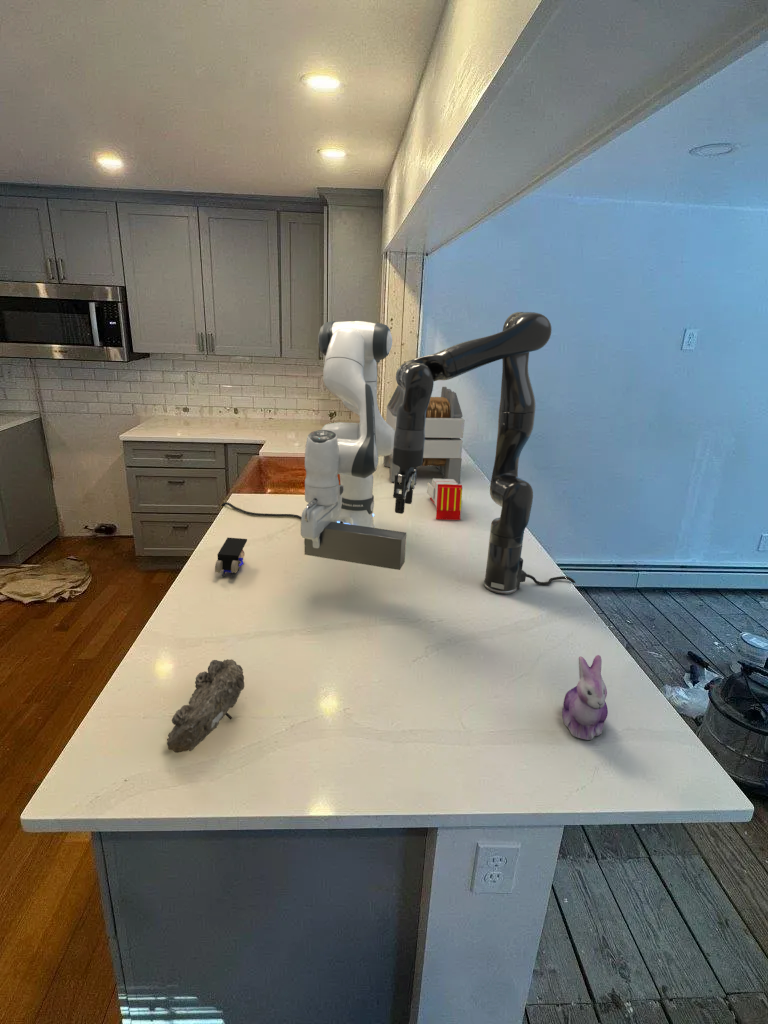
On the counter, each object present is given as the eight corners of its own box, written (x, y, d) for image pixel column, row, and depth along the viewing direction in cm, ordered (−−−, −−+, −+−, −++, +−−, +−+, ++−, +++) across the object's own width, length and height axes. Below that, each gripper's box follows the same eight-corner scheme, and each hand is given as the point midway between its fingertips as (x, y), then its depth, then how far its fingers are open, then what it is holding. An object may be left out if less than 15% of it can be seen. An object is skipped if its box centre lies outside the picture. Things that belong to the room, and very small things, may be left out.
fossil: (192, 660, 117) (244, 628, 112) (224, 691, 120) (276, 661, 115) (142, 746, 98) (202, 712, 93) (182, 779, 101) (242, 748, 96)
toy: (454, 474, 240) (466, 486, 210) (452, 505, 242) (464, 521, 213) (426, 473, 239) (434, 485, 210) (424, 504, 242) (432, 520, 212)
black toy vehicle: (238, 584, 162) (249, 557, 175) (236, 562, 158) (247, 536, 172) (215, 584, 161) (227, 556, 175) (212, 561, 158) (225, 535, 171)
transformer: (382, 463, 289) (386, 382, 275) (445, 464, 293) (451, 384, 279) (390, 482, 257) (394, 392, 243) (460, 483, 261) (468, 394, 247)
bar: (304, 554, 152) (304, 525, 149) (311, 547, 157) (311, 518, 154) (399, 570, 146) (401, 539, 143) (404, 562, 150) (406, 532, 147)
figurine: (586, 749, 104) (600, 681, 99) (547, 715, 112) (558, 650, 107) (622, 734, 108) (637, 668, 103) (582, 702, 117) (594, 639, 112)
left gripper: (317, 507, 138) (317, 559, 142) (346, 484, 156) (345, 531, 161) (294, 504, 139) (294, 555, 144) (324, 481, 158) (324, 527, 162)
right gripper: (417, 453, 132) (411, 519, 137) (429, 442, 145) (423, 502, 150) (386, 449, 134) (381, 514, 139) (401, 438, 147) (396, 498, 152)
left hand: (321, 542), depth 153 cm, fingers closed on bar, 5 cm apart
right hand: (403, 507), depth 145 cm, fingers open, 8 cm apart
